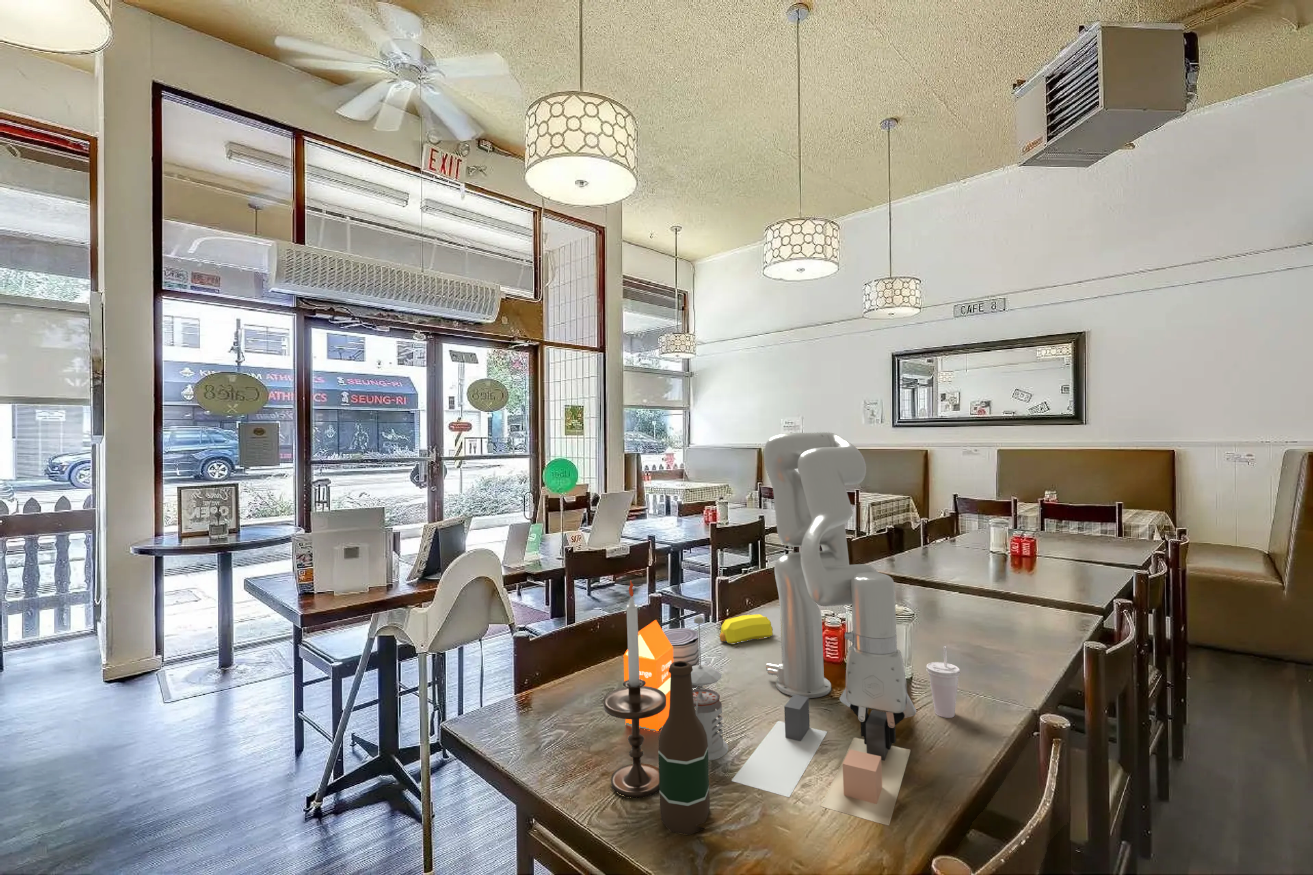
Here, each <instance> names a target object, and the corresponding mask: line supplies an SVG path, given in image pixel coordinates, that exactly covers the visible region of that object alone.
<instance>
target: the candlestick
mask: <svg viewBox="0 0 1313 875" xmlns="http://www.w3.org/2000/svg"><path fill="white" fill-rule="evenodd" d="M633 588H634V583H632V580H631V579H630V581H629V587H628V593H629V602H628V604H626V628H627V633H626V634H627V649H628V670H629V680H627V681H625V682H622V686H623V687H619V688H616V689H614V690H611V691H610V692H608V693H607V694H606V695H605V696H604V698H603V710H604V712H605V713H606V714H608V715H609V716H610V717H614V718H616V719H622V720H623V719H624V720H625V719H632V727H631V734H630V735H629V736H628V737H627V741H628V744H629V745H630V746H631V750H630V751H629V753H628V754H629V756H630V757H631V758H632V763H628V764H625V765H622V766H621V767H619V768H617V769H616V770H615V771H614V772H613V773H612V775H611V777H610V786H611V785H612V787H611V789H612V788H613V789H614V790H615V791H616V792H618V793H619V794H621V795H624V796H625V797H624V798H626V797H629V798H628V799H644V798H647V797H648V798H649V797H650V796H653V795H655V794H656V792H657V793H658V792H659V767H657V766H655V765H653V764H649V763H643V762H641V758H642V757H643V756H644V750H643V749H642V746H643V743H644V741H645V736H644V735H643V734H642V733H641V731H640V730H641V729H640V727H639V719H642V718H647V717H651V716H654V715H656V714H658V713H660V712H661V711H663V710H664V708H665V707H666V696H665V694H664V693H663V692H662V691H661V690H659V689H656V688H653V687H648V686H644V685H645V684H646V682H645V681H644V680H641V679H640V677H639V645H638V632H639V623H638V622H639V621H638V620H639V619H638V618H639V617H638V616H639V615H638V604H636V603H635V600H634V589H633ZM613 789H612V790H613ZM630 797H631V798H630ZM643 797H644V798H643Z"/></svg>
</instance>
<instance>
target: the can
mask: <svg viewBox="0 0 1313 875" xmlns="http://www.w3.org/2000/svg"><path fill="white" fill-rule="evenodd" d="M663 632H664V634H665V635H666V637H667V639H668V640H669V642H670V643H671V645H672V646H673V662H677V661H685V662H688V663H690V664H691V665H692V666H696V665H700V655H699V630H695V629H691V628H688V627H681V628H680V627H678V628H677V627H676V628H668V629H665V630H663ZM696 687H697V685H692V688H696ZM697 688H698V687H697ZM697 688H696V689H697Z"/></svg>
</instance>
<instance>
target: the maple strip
mask: <svg viewBox="0 0 1313 875" xmlns="http://www.w3.org/2000/svg"><path fill="white" fill-rule="evenodd" d="M886 724H887V715H886V711H880V710H875V709H871V711H870V712H869V717H868V719H867V721H866V744H864V738H863V739H862V738H858V737H853V739H852V740H851V743H850V745H849V746H848V749H847V751H846V753H845V755H844V757H843V759H842V761H841V763H840V765H839V767H838V769H837V771H836V774H835V776H834V778H833V780H832V781H831V784H830V785H829V788H828V790H827V792H826V794H825V796H824V798H823V801H822V803H821V804H820V807H821V808H825V809H828V810H832V811H834V812H839V813H842V814H846V815H849V816H853V817H856V818H860V819H864V820H867V821H869V822H870V821H871V822H874V823H877V824H881V825H884V826H889V827H890V824H891V821H892V817H893V814H894V810H895V807H896V803H897V799H898V796H899V792H900V789H901V785H902V783H903V778H904V774H905V771H906V768H907V765H908V761H909V757H910V754H911V749H908V748H903V747H899V746H895V745H892V746H891V748H890V750H889V749H887V748H886V740H885V726H886ZM849 749H851V750H855V751H859V752H864V753H868V754H872V755H877V756H881V766H882V790H881V793H880V796H879V799H878V802H877V804H874V803H871V802H867V801H863V800H860V799H856V798H852V797H848V796H845V795H844V787H843V762H844V760H845V758H846V756H847V754H848V752H849Z"/></svg>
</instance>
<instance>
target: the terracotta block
mask: <svg viewBox="0 0 1313 875" xmlns="http://www.w3.org/2000/svg"><path fill="white" fill-rule="evenodd" d="M848 749H849V748H848ZM843 787H844V795H845V796H848V797H852V798H856V799H860V800H863V801H867V802H871V803H874V804H877V802H878V799H879V796H880V793H881V790H882V766H881V756H877V755H872V754H868V753H864V752H859V751H855V750H851V749H849V752H848V754H847V756H846V758H845V760H844V762H843Z"/></svg>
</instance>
